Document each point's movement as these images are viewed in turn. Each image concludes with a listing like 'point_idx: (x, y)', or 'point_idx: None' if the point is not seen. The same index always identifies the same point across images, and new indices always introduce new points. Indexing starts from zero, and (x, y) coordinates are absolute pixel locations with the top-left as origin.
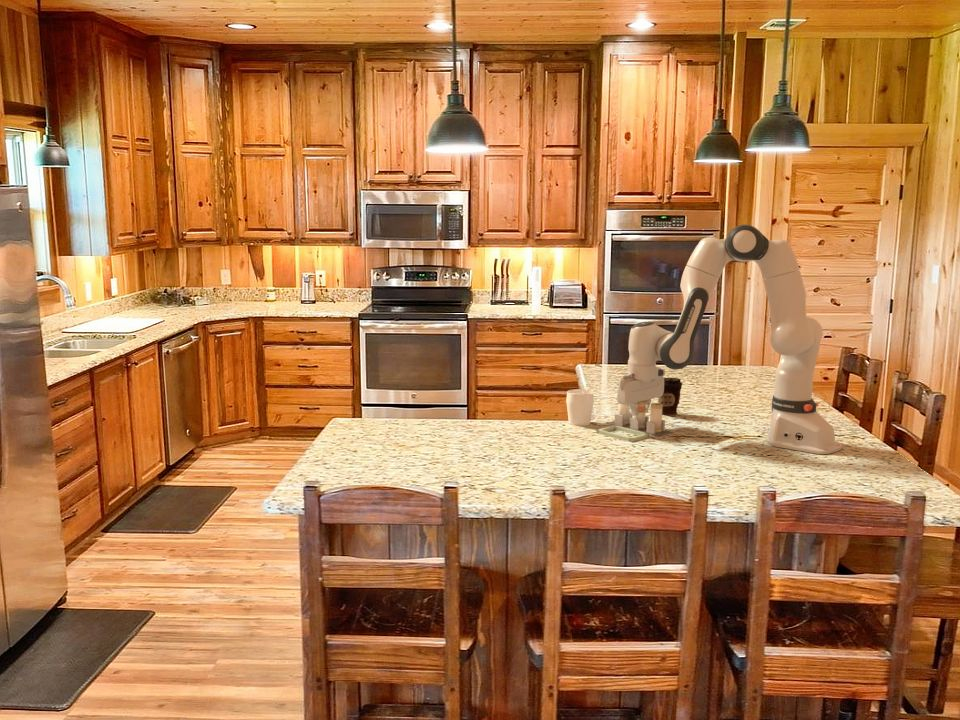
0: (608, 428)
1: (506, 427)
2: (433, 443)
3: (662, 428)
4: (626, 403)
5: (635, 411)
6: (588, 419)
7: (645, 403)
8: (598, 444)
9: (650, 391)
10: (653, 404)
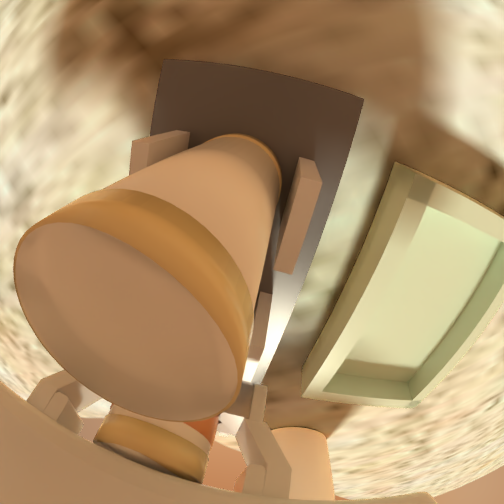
0: (366, 394)
1: (367, 480)
2: (475, 464)
3: (181, 145)
4: (433, 501)
5: (262, 416)
6: (302, 456)
7: (133, 428)
8: (493, 338)
9: (14, 481)
10: (175, 393)
